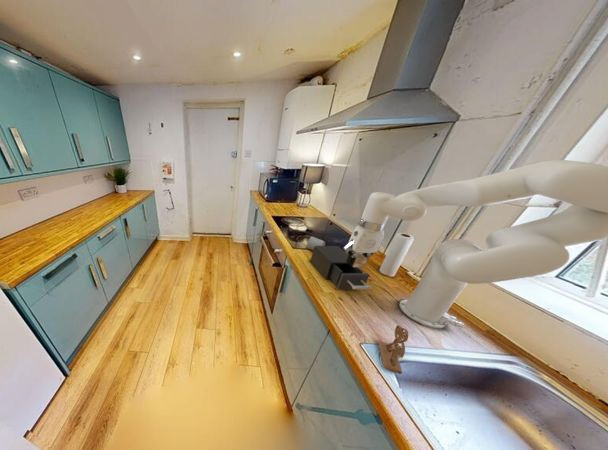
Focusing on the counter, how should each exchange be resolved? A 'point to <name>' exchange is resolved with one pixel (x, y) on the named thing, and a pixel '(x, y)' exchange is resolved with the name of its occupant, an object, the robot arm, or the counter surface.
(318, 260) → the black drawer cabinet housing
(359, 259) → the block
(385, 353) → the brown irregular upright piece
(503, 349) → the counter surface
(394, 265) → the paper towel roll
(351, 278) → the black pull-out drawer
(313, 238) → the ceramic mug
